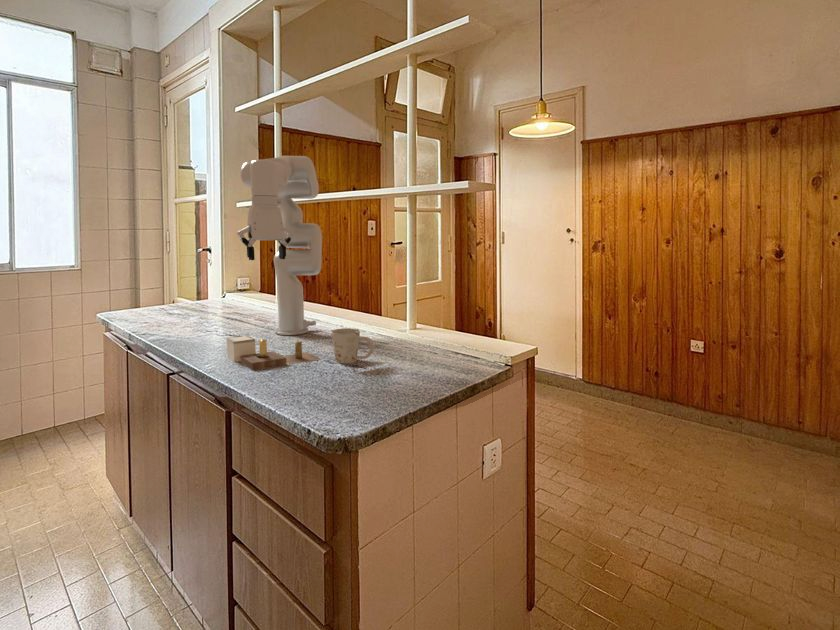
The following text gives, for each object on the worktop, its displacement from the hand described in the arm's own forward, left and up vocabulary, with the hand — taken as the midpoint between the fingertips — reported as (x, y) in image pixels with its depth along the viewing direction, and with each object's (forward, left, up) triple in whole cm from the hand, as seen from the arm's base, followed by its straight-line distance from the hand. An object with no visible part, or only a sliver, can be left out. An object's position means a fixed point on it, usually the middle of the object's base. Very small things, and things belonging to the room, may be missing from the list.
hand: (267, 259), depth 159 cm
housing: (+10, +2, -30) cm, 32 cm away
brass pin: (+7, +12, -30) cm, 33 cm away
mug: (-16, +24, -31) cm, 42 cm away
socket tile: (+7, +12, -30) cm, 33 cm away
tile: (-4, +12, -30) cm, 33 cm away
